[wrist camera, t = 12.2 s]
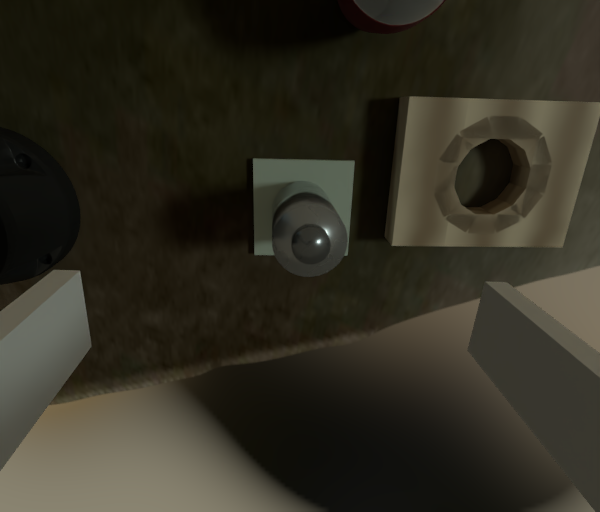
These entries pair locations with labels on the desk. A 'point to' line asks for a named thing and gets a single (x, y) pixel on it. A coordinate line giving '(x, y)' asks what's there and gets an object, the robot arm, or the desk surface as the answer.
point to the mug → (387, 13)
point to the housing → (523, 181)
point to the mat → (282, 172)
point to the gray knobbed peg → (307, 230)
